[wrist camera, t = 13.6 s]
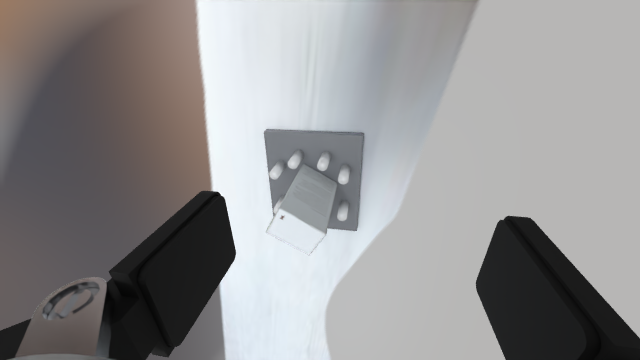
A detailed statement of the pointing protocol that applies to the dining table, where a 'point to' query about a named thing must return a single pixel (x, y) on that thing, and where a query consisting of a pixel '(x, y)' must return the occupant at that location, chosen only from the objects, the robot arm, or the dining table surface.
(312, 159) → the peg board
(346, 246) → the dining table surface
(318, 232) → the skincare box
